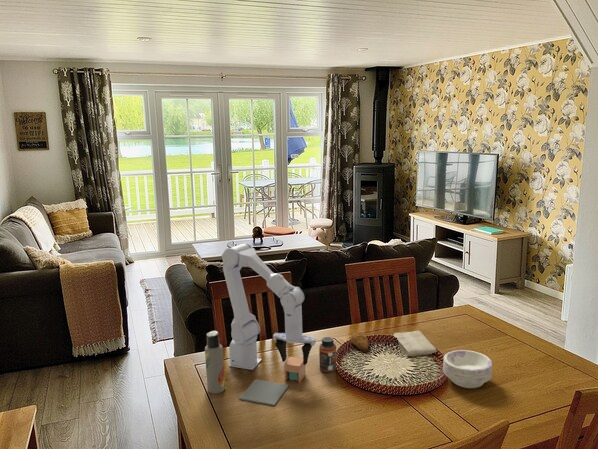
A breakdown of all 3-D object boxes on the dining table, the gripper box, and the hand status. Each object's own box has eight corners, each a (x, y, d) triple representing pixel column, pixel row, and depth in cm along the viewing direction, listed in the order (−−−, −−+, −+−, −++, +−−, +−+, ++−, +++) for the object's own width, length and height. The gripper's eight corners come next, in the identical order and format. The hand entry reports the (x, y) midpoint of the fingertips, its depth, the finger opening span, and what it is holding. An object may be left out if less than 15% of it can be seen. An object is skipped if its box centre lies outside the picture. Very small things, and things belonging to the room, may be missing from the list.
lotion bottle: (228, 386, 161) (224, 330, 157) (220, 395, 156) (216, 337, 152) (212, 383, 163) (209, 328, 159) (204, 392, 158) (200, 335, 154)
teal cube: (289, 379, 165) (289, 371, 164) (292, 375, 168) (292, 367, 167) (297, 380, 164) (297, 372, 163) (300, 376, 167) (300, 368, 166)
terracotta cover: (284, 380, 164) (284, 363, 163) (290, 372, 169) (290, 356, 168) (299, 382, 162) (299, 366, 161) (305, 374, 167) (305, 358, 166)
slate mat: (239, 399, 153) (239, 398, 153) (255, 380, 164) (255, 379, 164) (274, 406, 149) (274, 404, 149) (288, 386, 160) (288, 385, 160)
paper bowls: (456, 365, 171) (457, 344, 170) (499, 380, 161) (500, 358, 159) (434, 381, 161) (434, 359, 159) (478, 399, 150) (479, 375, 149)
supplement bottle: (335, 374, 168) (335, 343, 165) (318, 372, 169) (317, 342, 166) (337, 365, 173) (337, 336, 171) (321, 364, 174) (320, 335, 172)
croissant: (345, 339, 195) (345, 327, 194) (361, 337, 196) (361, 325, 195) (357, 354, 182) (357, 341, 181) (374, 351, 184) (374, 339, 183)
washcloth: (418, 335, 198) (418, 328, 197) (438, 355, 180) (438, 347, 180) (390, 337, 196) (390, 330, 195) (407, 358, 178) (407, 350, 178)
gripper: (268, 326, 161) (270, 364, 163) (310, 331, 156) (311, 370, 158) (277, 318, 167) (278, 355, 170) (317, 323, 162) (318, 360, 165)
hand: (294, 361), depth 165 cm, fingers open, 7 cm apart
